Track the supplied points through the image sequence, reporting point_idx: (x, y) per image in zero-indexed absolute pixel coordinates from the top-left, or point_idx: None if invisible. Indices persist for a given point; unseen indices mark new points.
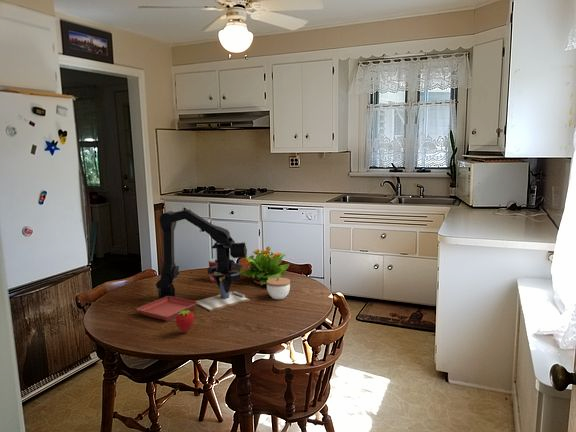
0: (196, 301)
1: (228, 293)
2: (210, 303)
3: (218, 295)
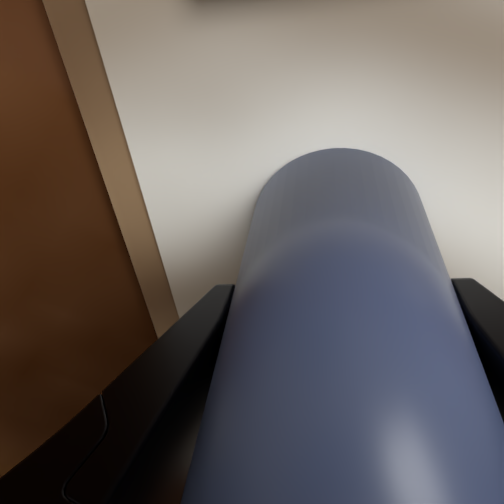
0: None
1: (434, 239)
2: None
3: (171, 252)
